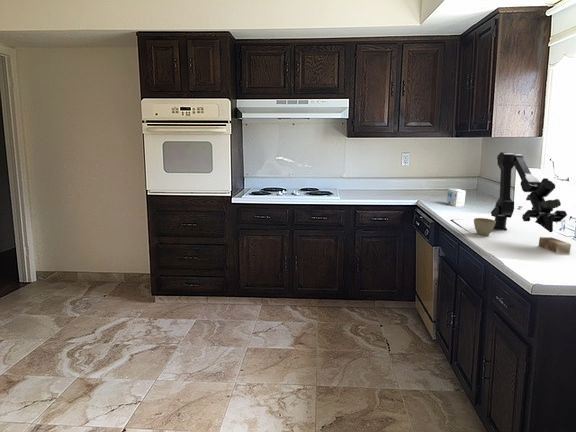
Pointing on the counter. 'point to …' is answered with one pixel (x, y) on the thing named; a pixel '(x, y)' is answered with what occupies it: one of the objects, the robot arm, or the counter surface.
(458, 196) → the light bulb box
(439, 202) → the counter surface
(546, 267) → the counter surface
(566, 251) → the walnut block
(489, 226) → the flower pot
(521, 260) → the counter surface
